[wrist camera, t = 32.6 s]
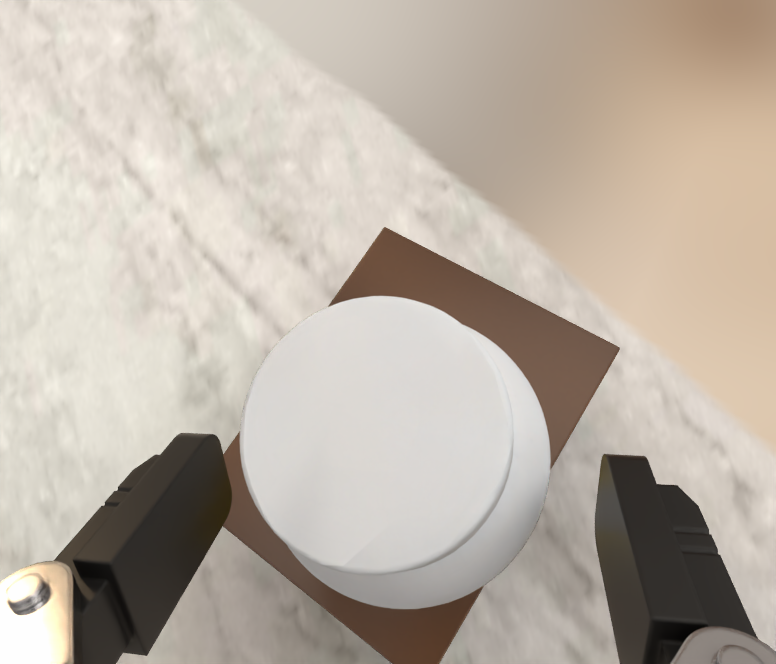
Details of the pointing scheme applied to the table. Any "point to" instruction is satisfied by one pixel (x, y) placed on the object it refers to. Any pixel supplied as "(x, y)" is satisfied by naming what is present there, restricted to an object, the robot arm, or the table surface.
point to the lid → (526, 349)
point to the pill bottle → (395, 452)
